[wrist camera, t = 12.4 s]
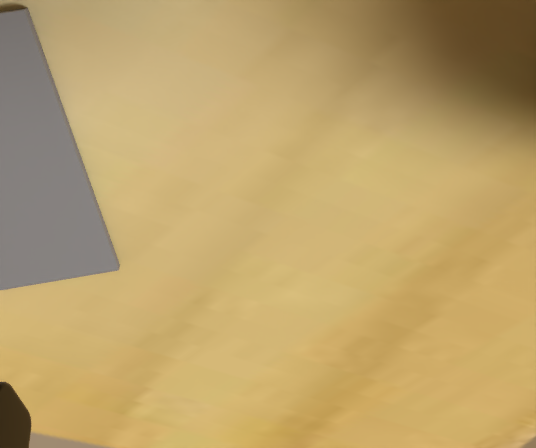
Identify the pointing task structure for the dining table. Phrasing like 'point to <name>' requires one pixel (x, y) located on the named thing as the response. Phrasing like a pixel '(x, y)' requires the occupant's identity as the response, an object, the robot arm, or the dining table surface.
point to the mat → (42, 173)
